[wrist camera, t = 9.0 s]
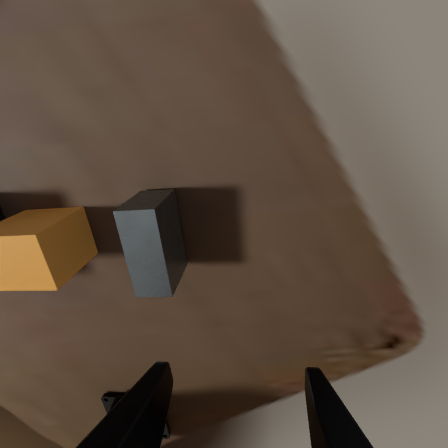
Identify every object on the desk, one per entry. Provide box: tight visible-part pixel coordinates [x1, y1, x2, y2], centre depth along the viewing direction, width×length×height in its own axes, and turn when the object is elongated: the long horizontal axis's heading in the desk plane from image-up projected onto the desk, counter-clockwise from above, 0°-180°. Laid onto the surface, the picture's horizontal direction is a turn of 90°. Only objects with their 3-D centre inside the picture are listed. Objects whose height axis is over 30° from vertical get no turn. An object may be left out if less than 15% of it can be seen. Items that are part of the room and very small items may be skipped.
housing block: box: [0, 207, 98, 291], centre depth 20 cm, size 4×5×5 cm
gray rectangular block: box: [113, 189, 187, 297], centre depth 19 cm, size 6×2×4 cm, turn 5°
